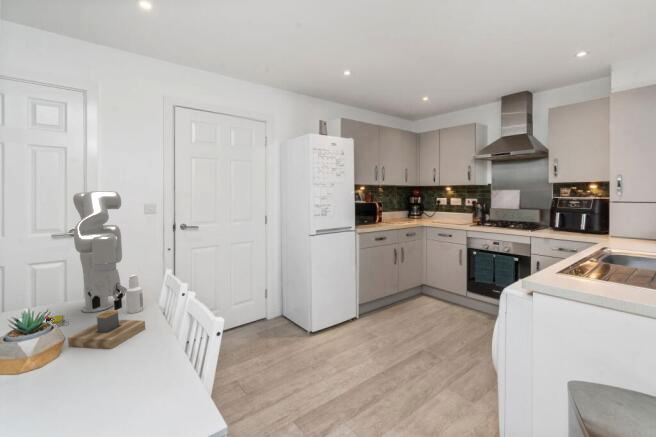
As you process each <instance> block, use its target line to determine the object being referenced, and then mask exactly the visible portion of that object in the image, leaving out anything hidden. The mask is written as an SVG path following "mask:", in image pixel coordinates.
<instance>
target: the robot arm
mask: <svg viewBox="0 0 656 437" xmlns="http://www.w3.org/2000/svg"><path fill="white" fill-rule="evenodd" d="M72 202H73V204H74V207H75V209H76V211H77V212H78V214H79V217H80V221H78V223H77V224H76V225H75V227H74V230H73V241H74V242H73V243H74V248H75V251H77V253H79V259H80V264H81V269H82V274H83V288H84V290H83V291H84V302H85V303H84V304H85V305H84V306H83V307H82V308H81V311H82V312H83V313H97V312H102V311H105V310H108V309H110V308H112V307H113V310H115V311H119V309H122V308H123V303H122V301H123V300H122V299H124V297H125V295H126V291H127V289H128V288H127V287H124V286H122V285H121V278H120V274H119V270H118V269H117V264H118V263H120V262H121V261H122V259H123V248H122V233H121V229H120V227H119V226H118V225H116V224H106V223H107V222H108V221H109V218H110V217H109V210H118V209H120V208H121V207H122V197H121V195H120V194H119V193H118V192H117V191H114V190H113V191H106V190H105V191H104V190H101V191H89V192H87V191H86V192H84V191H83V192H77V193H75V194H74V195H73V198H72ZM105 224H106V225H105ZM109 297H113V299H114V300H113V303H112V302H111V301H110V302H109Z"/></svg>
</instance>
